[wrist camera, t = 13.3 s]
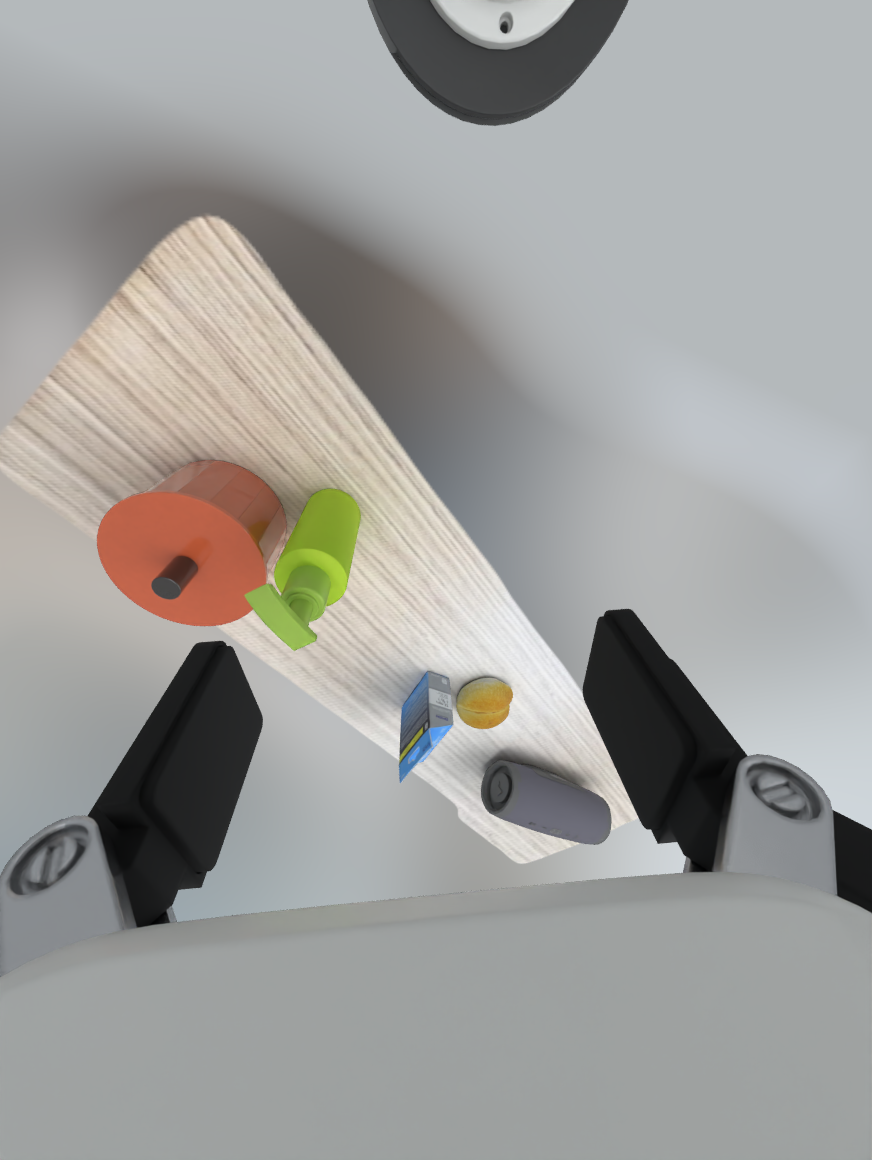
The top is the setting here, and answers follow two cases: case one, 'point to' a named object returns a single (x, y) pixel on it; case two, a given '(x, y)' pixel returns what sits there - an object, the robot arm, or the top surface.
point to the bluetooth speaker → (545, 803)
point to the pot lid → (181, 557)
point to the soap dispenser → (310, 568)
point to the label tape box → (424, 721)
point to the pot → (234, 499)
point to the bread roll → (484, 703)
